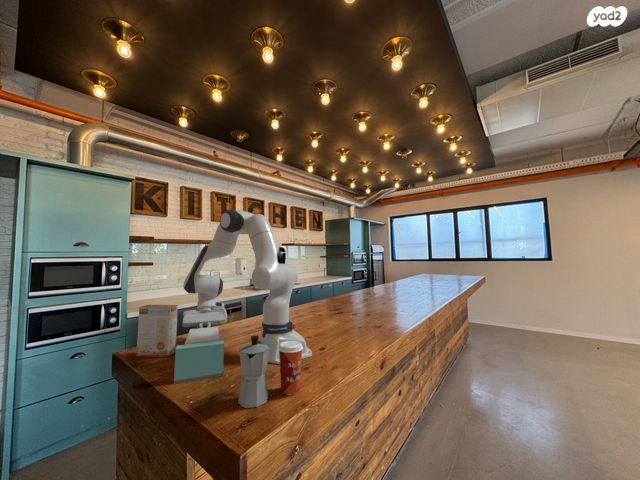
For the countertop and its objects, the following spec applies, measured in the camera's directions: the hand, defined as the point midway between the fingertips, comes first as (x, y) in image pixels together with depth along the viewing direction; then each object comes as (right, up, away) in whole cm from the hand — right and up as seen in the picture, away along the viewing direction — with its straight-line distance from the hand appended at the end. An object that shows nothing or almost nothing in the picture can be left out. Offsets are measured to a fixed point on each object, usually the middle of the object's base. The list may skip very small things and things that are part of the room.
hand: (204, 332), depth 119 cm
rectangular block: (+7, -5, -17) cm, 19 cm away
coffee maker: (+36, -2, -47) cm, 59 cm away
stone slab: (+5, 0, -13) cm, 14 cm away
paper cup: (+46, -3, -42) cm, 63 cm away
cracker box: (-15, -5, -12) cm, 20 cm away
